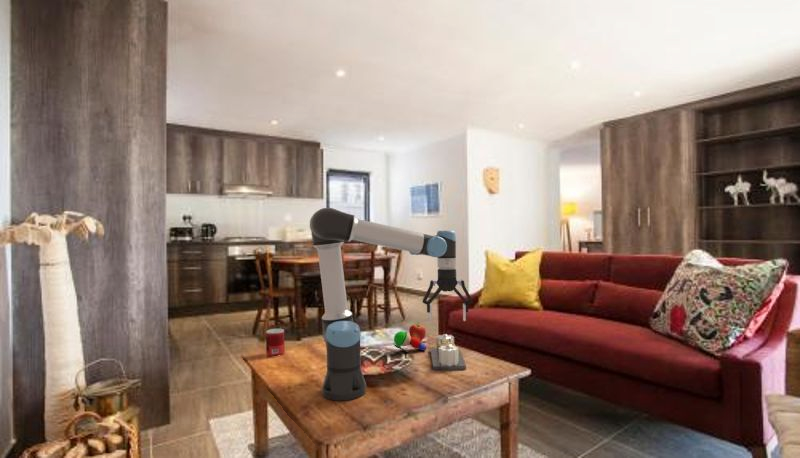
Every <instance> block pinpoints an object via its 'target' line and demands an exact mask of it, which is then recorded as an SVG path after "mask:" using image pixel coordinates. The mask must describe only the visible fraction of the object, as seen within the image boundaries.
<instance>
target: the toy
mask: <svg viewBox="0 0 800 458" xmlns="http://www.w3.org/2000/svg"><path fill="white" fill-rule="evenodd" d="M393 341H394V342H393V345H394V347H395V348H397V349H399V350H401V351H403V352H405V353H406V351H407V350H406V349H405V348H404V347H406V346H408V345H410V346H411V347H412V348H413V349H418V350H421V351H424V352H425V351H426V350H427V346H426V345H425V344H424V343H422V342H421V341H420V339H418V338H416V337H411V336H410V333H409V332H408V331H404V330H403V331H400V330H399V331H398V332H396V333H395V335H394V337H393Z"/></svg>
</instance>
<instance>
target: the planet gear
mask: <svg viewBox="0 0 800 458" xmlns="http://www.w3.org/2000/svg"><path fill="white" fill-rule="evenodd" d="M458 347H459V346H456V345H455V346H451V349H446V346H440V348H439V363H441V365H448V366H452V365H458V363H459V350H458Z"/></svg>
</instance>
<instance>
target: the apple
mask: <svg viewBox="0 0 800 458" xmlns="http://www.w3.org/2000/svg"><path fill="white" fill-rule="evenodd" d="M408 329H409V330H408V331H409V332H408V333H409V334H410V336H411V337H416V338H418V339H420V342H421V341H423V340H424V339H425V336H426V332H427V331H426V328H425V326H424V325H422V324H419V323H415V324H412V325H411V326H410V327H409V328H408Z"/></svg>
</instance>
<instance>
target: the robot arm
mask: <svg viewBox="0 0 800 458" xmlns="http://www.w3.org/2000/svg"><path fill="white" fill-rule="evenodd" d="M309 229H310V231H311V240H312V247H314V248H315V249H316V250H317V255H318V263H319V272H320V279H321V281H320V282H321V288H322V297H323V306H324V313H323V314H322V317H321V323H322V324H321V325H322V338H323V341H324V343H325V346H326V373H325V377H324V381H323V384H322V388H321V389H322V390H321V392H322V393H321V394H322V396H323V398H326V399H328V400H331V401H339V402H340V401H341V402H342V401H350V400H354V399H357V398H360V397H362V396H364V395H365V394H366V392H367V383H366V379H365V378H364V374H363V371H362V367H361V364H362V363H361V360H362V357H361V335H362V334H361V329H360V325H359V324H357V323H356V322H354V318H353V312H352V311H350V310H349V309H348V308H349V307H348V300H347V291H346V282H345V274H344V267H343V258H342V249H341V247H342V246H343V245H344V243H345V242H348V243H349V242H351V241H357V242H362V243H367V244H371V245H376V246H381V247H385V248H389V249H396V250H400V251H405V252H409V254H410V255H412V256H413V255H414V256H415V255H416V256H420V255H421V256H427V257H431V258H437V280H433V279H431V280H430V281H429V286H428V288H427V290H426V293H425V294H424V296H423V298H422V303H423V304H424V305H426V313H429V321H430V322H432V321H433V306H432V303H433V301H434V300H435V299H436V298H437V296H438V295H439V294H441V292H454V293H455V294H456V295H457V296H458V297H459V299H461V301H462V302H463V303H462V320H463V322H466V321H467V318H466V317H467V315H466V314H467V313H469V304H472V303H474V301H473V299H472V297H471V295H470V293H469V291H468V289H467V288H466V285H465V281H464V279H461V280H458V279H457V269H456V268H457V240H456V239H457V238H456V236H457V235H456V232H455V231H454V230H437V232H436V235H430V234H425V233H422V232H417V231H413V230H409V229H404V228H399V227H395V226H389V225H386V224H383V223H377V222H373V221H369V220H363V219H361V218H359V219H358V218H357V217H356V216H355V214H350V213H347V212H343V211H340V210H338V209H336V208H333V207H324V208H320V209H319V210H317V211H315V212H314V213H313V214H312V216H311V218H310V221H309ZM436 285H437V286H438V288H437V289H436V291H434V293H433V294H432V295H431V296H430V294H431V292H432V290H433V287H435V286H436ZM457 285H459V286H461V288H462V290H463V293H464V294H465V296H466V297H467V299H466V298H465V297H464V296H463V294H462V293H461V292H460V291H459V290H458V289H457V288H456V287H457ZM429 296H430V297H429ZM428 298H429V299H428Z"/></svg>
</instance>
